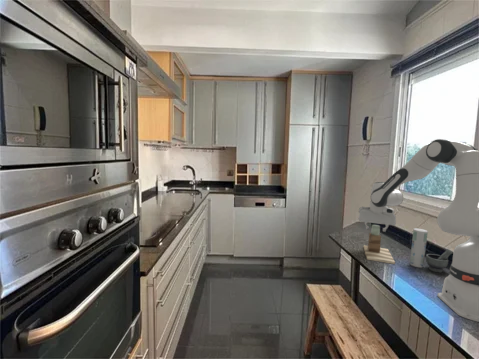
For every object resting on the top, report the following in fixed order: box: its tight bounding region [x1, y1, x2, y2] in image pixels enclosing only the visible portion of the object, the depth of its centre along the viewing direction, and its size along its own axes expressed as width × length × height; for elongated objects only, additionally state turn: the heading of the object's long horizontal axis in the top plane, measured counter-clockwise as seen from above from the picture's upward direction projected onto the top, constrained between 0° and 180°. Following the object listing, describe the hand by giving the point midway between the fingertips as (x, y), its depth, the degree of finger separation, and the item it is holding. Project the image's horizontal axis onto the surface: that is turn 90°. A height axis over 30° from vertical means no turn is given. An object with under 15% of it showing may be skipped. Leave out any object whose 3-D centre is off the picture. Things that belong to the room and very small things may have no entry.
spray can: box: [409, 228, 429, 268], centre depth 144 cm, size 6×6×20 cm
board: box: [363, 245, 396, 265], centre depth 157 cm, size 22×14×1 cm, turn 159°
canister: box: [370, 224, 381, 236], centre depth 160 cm, size 5×5×6 cm
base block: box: [367, 239, 381, 253], centre depth 161 cm, size 6×6×5 cm
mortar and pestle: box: [425, 248, 453, 273], centre depth 139 cm, size 11×9×12 cm
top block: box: [368, 232, 382, 245], centre depth 161 cm, size 5×5×5 cm
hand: (375, 230), depth 160 cm, fingers open, 8 cm apart
